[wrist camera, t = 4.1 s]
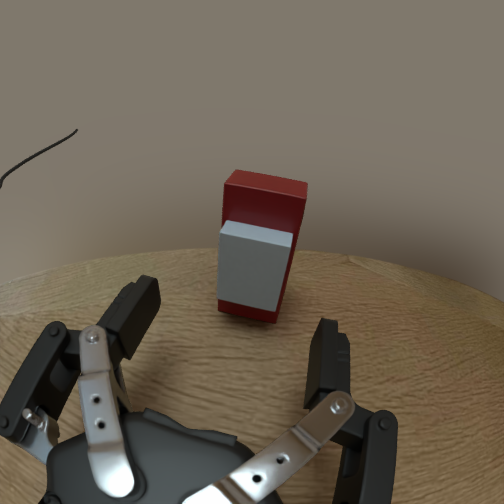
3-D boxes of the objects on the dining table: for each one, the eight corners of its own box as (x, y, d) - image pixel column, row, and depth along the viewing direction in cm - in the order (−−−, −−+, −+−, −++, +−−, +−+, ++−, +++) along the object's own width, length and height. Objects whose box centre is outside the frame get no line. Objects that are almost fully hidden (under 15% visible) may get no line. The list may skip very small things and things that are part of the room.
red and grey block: (210, 324, 19) (213, 192, 13) (228, 281, 23) (237, 163, 17) (274, 339, 19) (307, 210, 13) (282, 293, 22) (309, 177, 17)
